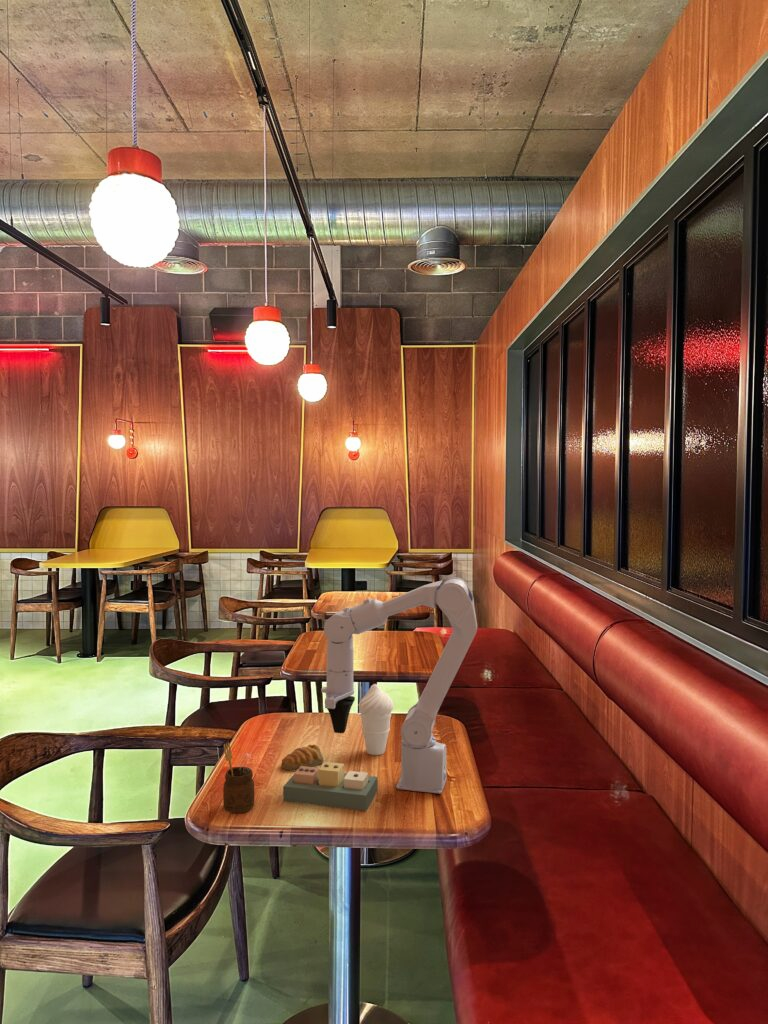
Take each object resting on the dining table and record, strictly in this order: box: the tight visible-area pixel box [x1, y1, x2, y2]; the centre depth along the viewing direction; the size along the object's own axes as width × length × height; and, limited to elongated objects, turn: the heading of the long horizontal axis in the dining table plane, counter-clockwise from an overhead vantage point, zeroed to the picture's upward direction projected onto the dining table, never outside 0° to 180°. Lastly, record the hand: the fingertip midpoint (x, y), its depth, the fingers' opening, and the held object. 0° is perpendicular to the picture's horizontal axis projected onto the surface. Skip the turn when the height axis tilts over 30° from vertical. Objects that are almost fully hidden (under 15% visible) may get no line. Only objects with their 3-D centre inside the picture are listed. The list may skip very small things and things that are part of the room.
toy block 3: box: [344, 770, 369, 790], centre depth 137 cm, size 4×4×5 cm
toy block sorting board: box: [282, 772, 379, 812], centre depth 139 cm, size 17×9×3 cm, turn 77°
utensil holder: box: [222, 741, 255, 814], centre depth 133 cm, size 6×6×12 cm
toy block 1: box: [293, 766, 320, 785], centre depth 140 cm, size 4×4×5 cm
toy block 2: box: [319, 761, 345, 787], centre depth 139 cm, size 4×4×5 cm
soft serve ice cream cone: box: [358, 683, 395, 756], centre depth 162 cm, size 8×8×16 cm
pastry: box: [280, 744, 325, 772], centre depth 155 cm, size 9×7×4 cm
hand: (339, 731), depth 147 cm, fingers closed
